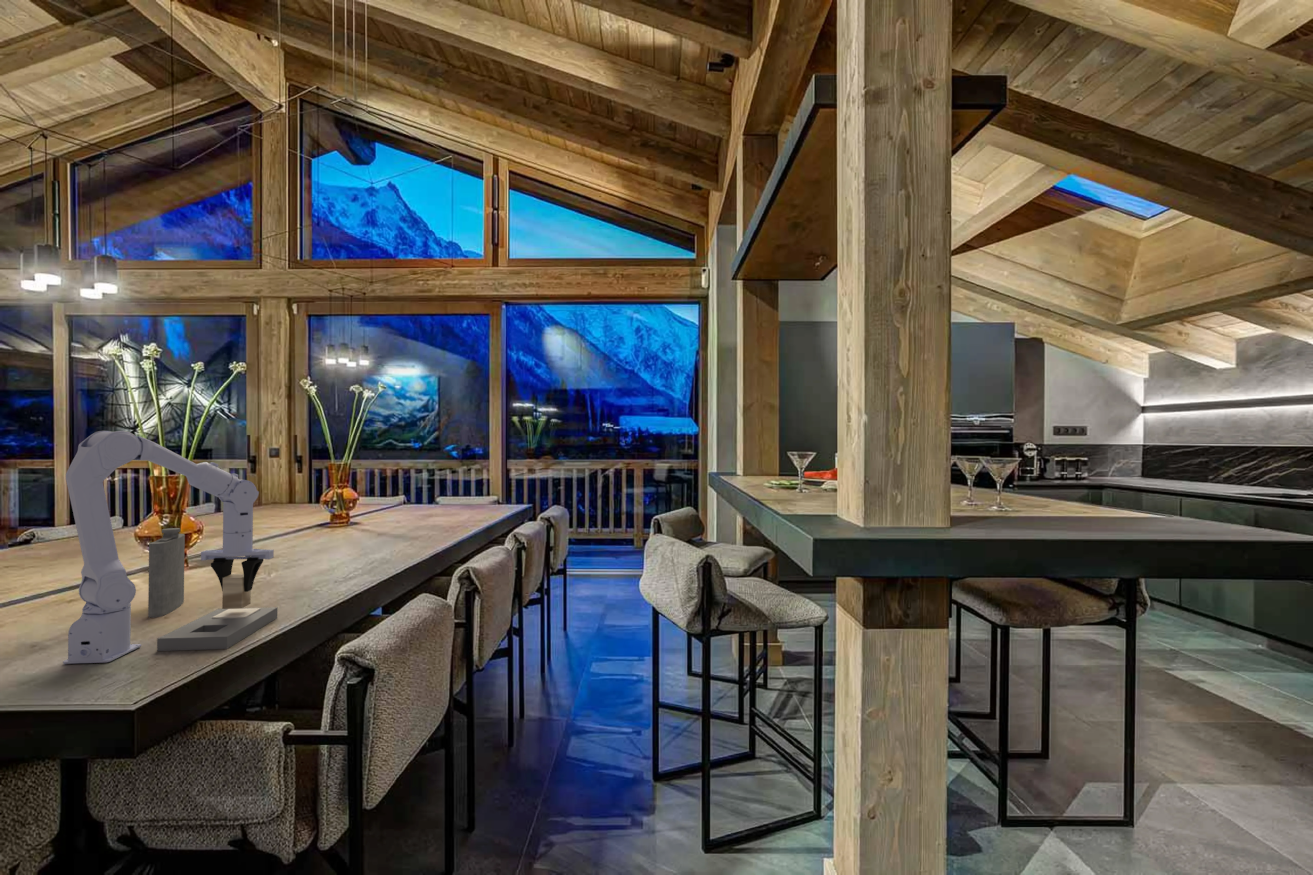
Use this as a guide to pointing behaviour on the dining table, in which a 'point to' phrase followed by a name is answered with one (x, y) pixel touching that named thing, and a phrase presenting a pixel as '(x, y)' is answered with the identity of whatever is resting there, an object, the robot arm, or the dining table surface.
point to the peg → (235, 592)
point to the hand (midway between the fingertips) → (237, 590)
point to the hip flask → (166, 573)
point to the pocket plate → (217, 629)
